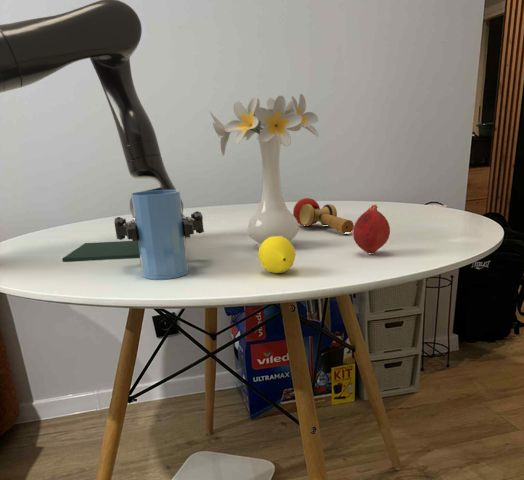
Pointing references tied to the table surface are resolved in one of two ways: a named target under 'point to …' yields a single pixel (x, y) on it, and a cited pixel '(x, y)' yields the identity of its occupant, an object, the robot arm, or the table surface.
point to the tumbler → (160, 233)
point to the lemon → (276, 254)
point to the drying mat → (104, 251)
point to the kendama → (320, 215)
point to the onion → (371, 230)
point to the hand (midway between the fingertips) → (161, 232)
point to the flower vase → (269, 157)
